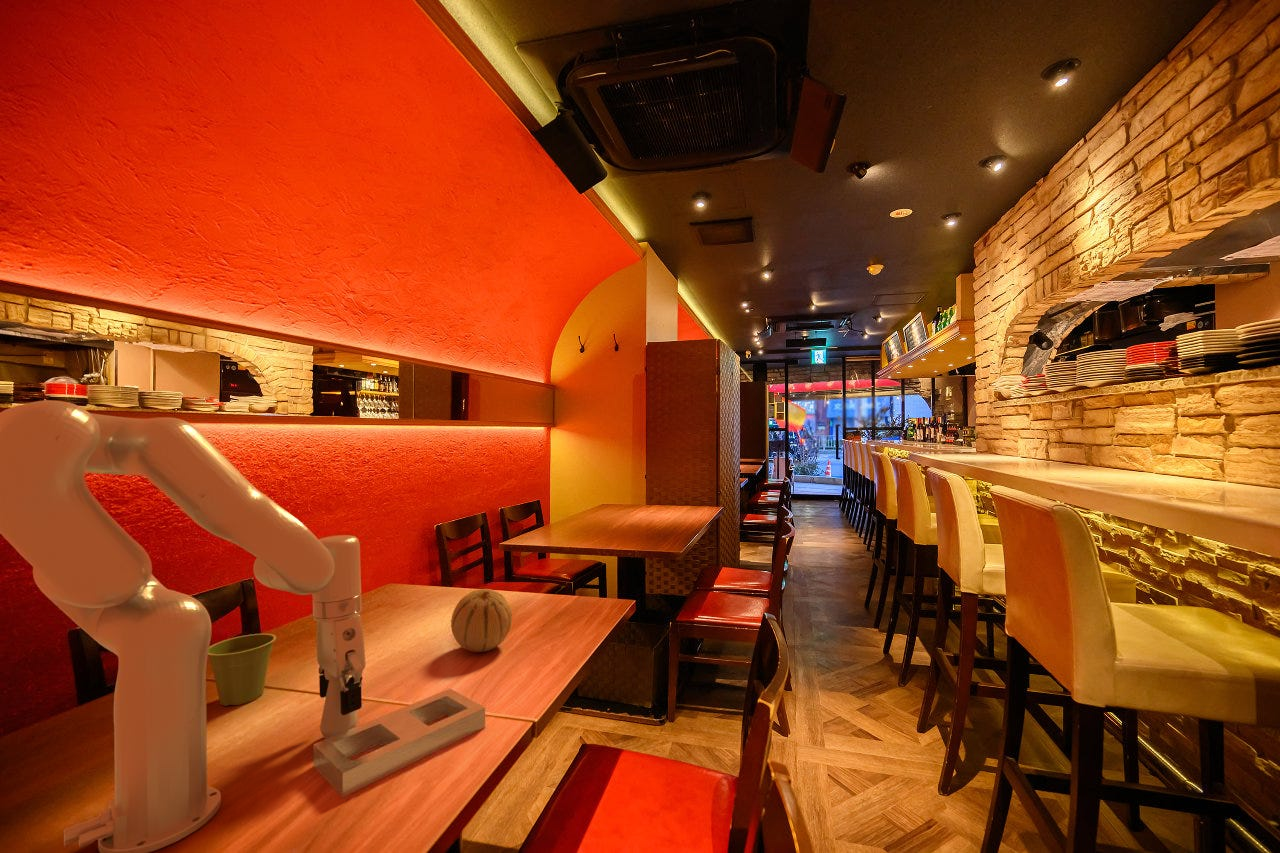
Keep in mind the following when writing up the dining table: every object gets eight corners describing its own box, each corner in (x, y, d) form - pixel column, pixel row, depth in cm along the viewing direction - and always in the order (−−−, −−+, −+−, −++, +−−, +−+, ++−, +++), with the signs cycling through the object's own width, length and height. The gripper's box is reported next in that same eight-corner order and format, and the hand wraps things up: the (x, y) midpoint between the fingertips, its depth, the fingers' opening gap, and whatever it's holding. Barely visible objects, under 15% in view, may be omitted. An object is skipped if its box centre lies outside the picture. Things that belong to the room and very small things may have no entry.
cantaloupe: (481, 634, 142) (480, 578, 143) (524, 643, 136) (523, 584, 136) (437, 655, 129) (436, 593, 129) (482, 666, 122) (481, 600, 123)
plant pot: (290, 687, 114) (289, 634, 114) (235, 716, 103) (234, 657, 103) (248, 682, 117) (247, 630, 117) (190, 709, 106) (189, 652, 106)
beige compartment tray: (342, 797, 78) (342, 773, 78) (313, 766, 86) (313, 744, 86) (485, 727, 96) (485, 707, 96) (450, 706, 104) (450, 688, 104)
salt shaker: (340, 747, 91) (339, 671, 91) (312, 744, 92) (311, 669, 92) (365, 729, 97) (363, 657, 97) (337, 726, 98) (336, 655, 98)
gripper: (380, 610, 92) (383, 709, 92) (341, 592, 103) (343, 681, 103) (333, 622, 86) (336, 728, 86) (297, 603, 98) (299, 696, 98)
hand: (340, 702), depth 95 cm, fingers open, 9 cm apart
